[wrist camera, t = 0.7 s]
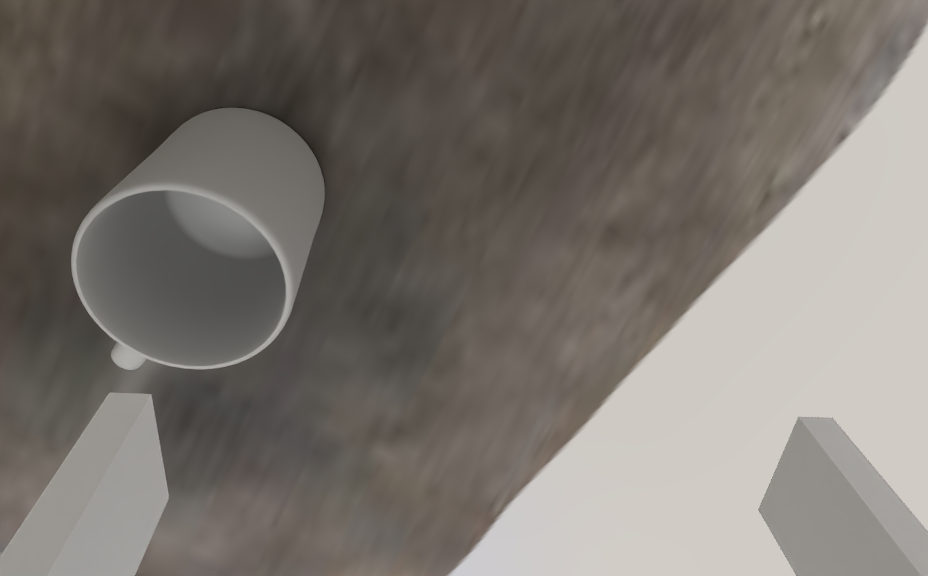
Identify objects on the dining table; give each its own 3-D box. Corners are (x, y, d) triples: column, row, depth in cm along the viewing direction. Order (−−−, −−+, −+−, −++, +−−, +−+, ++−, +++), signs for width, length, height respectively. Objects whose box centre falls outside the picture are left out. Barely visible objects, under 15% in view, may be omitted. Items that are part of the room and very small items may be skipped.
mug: (214, 69, 32) (132, 133, 23) (357, 173, 35) (337, 268, 26) (102, 243, 36) (-8, 359, 27) (239, 322, 39) (185, 452, 30)
